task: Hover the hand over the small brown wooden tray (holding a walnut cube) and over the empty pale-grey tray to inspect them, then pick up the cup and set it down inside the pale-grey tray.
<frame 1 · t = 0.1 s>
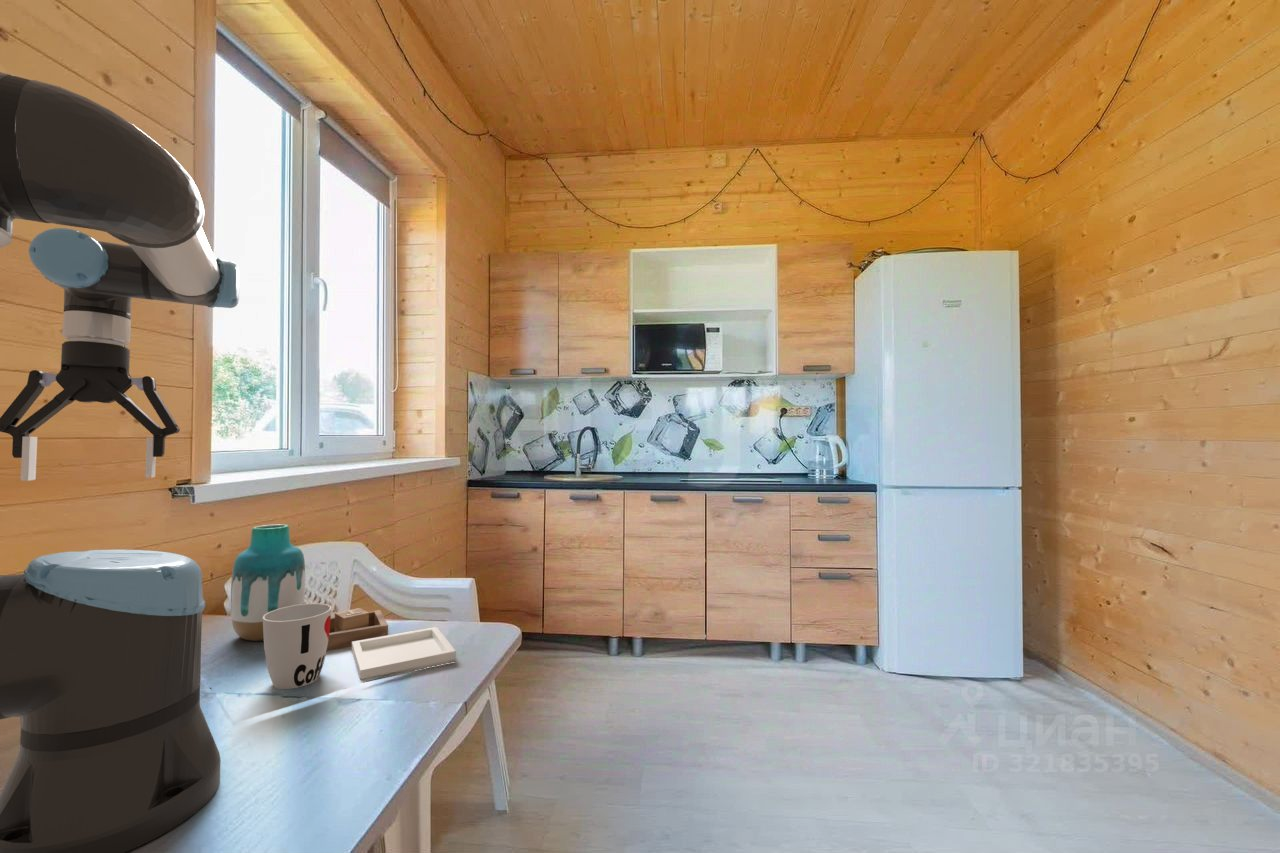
hand: (91, 479, 83), 28 cm above the table, fingers open, 13 cm apart
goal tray: (402, 657, 84), on the table
letter cube: (351, 636, 91), point 1 cm above the table, touching brown wooden tray
cup: (296, 685, 74), on the table
brown wooden tray: (351, 640, 91), on the table
vase: (267, 639, 92), on the table
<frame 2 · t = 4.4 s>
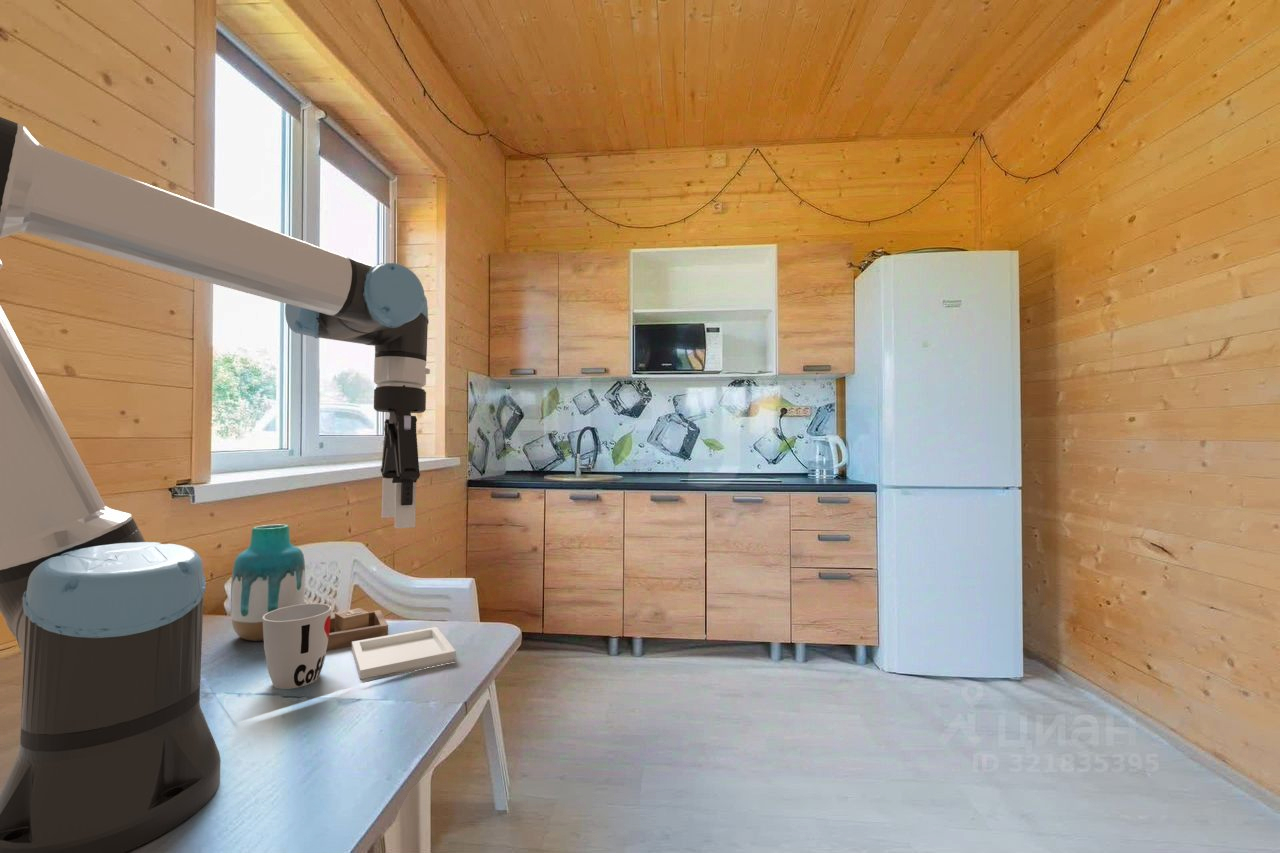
hand: (397, 522, 84), 21 cm above the table, fingers open, 13 cm apart
nothing on the table moved.
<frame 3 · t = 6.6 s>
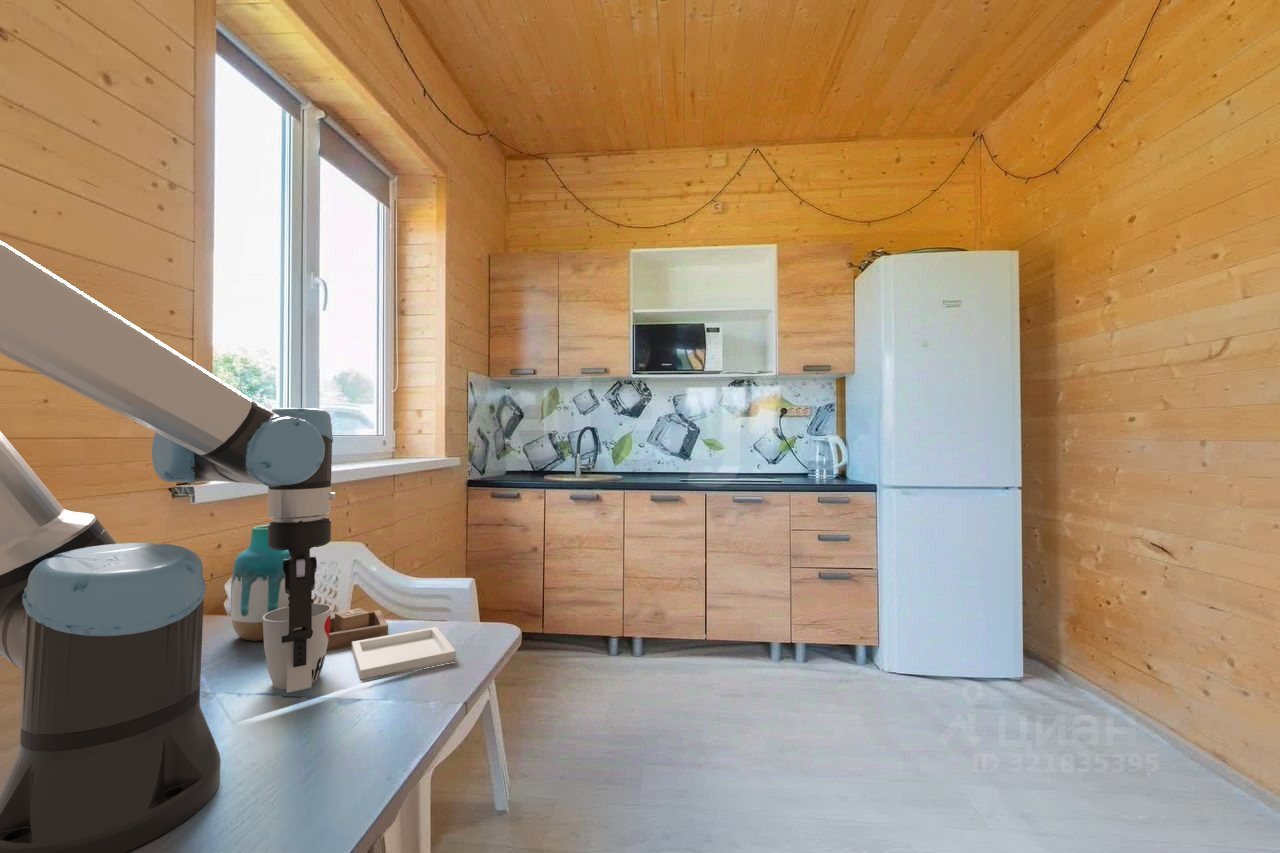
hand: (298, 670, 75), 2 cm above the table, fingers open, 13 cm apart
nothing on the table moved.
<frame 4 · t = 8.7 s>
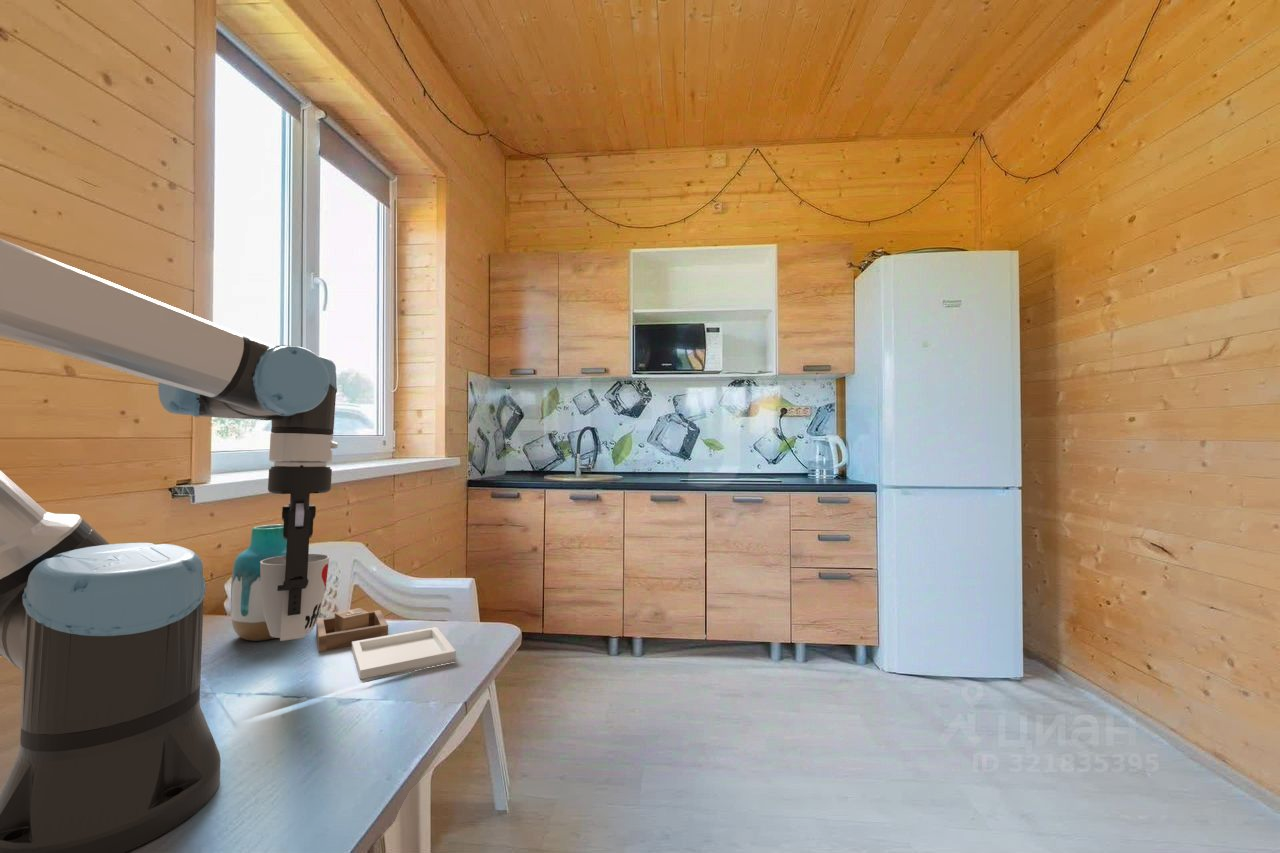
hand: (292, 629, 74), 8 cm above the table, fingers closed on cup, 8 cm apart
cup: (291, 633, 74), point 7 cm above the table, touching gripper
everything else where it was.
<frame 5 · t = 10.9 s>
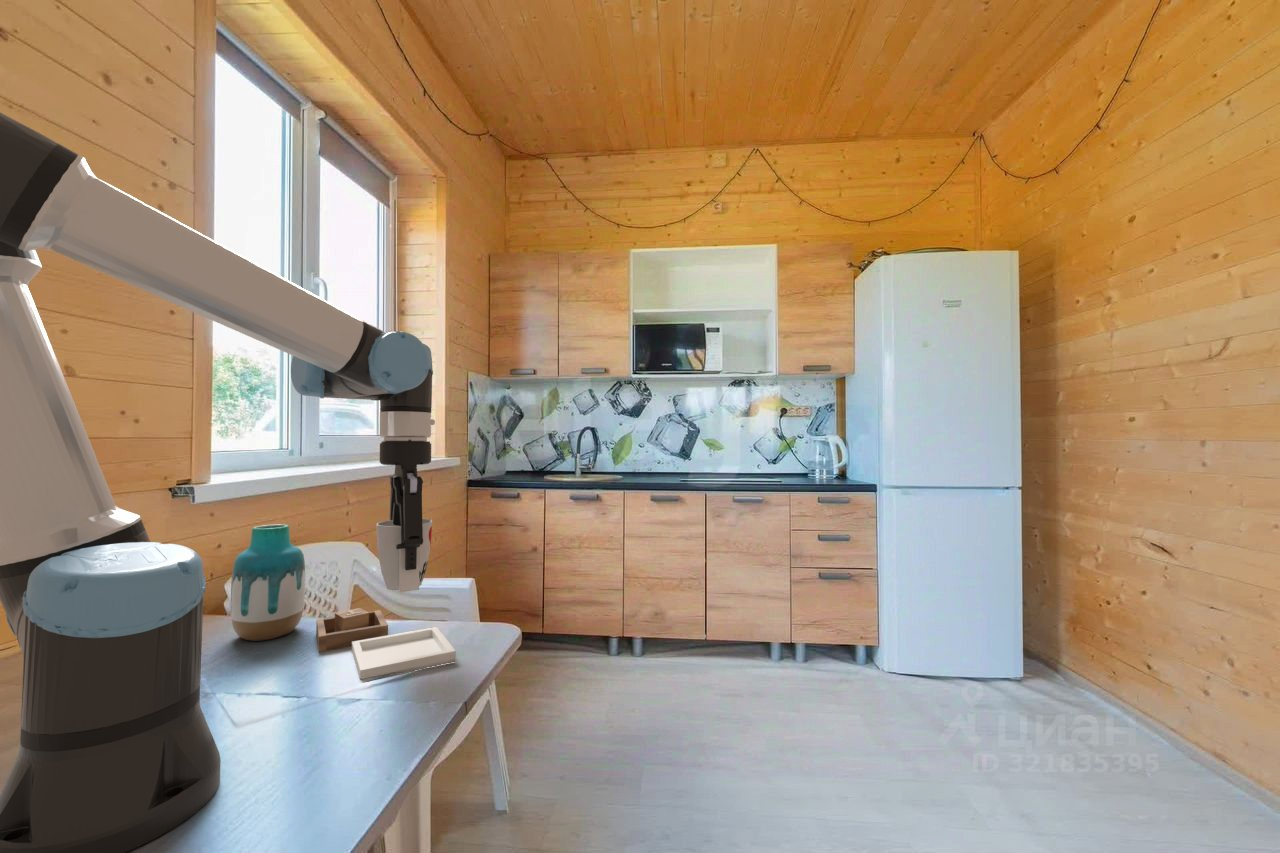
hand: (404, 584, 84), 11 cm above the table, fingers closed on cup, 8 cm apart
cup: (404, 587, 84), point 11 cm above the table, touching gripper
everything else where it was.
when the fingers open (2 cm above the table, at t = 13.3 s): cup drops 1 cm, resting on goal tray.
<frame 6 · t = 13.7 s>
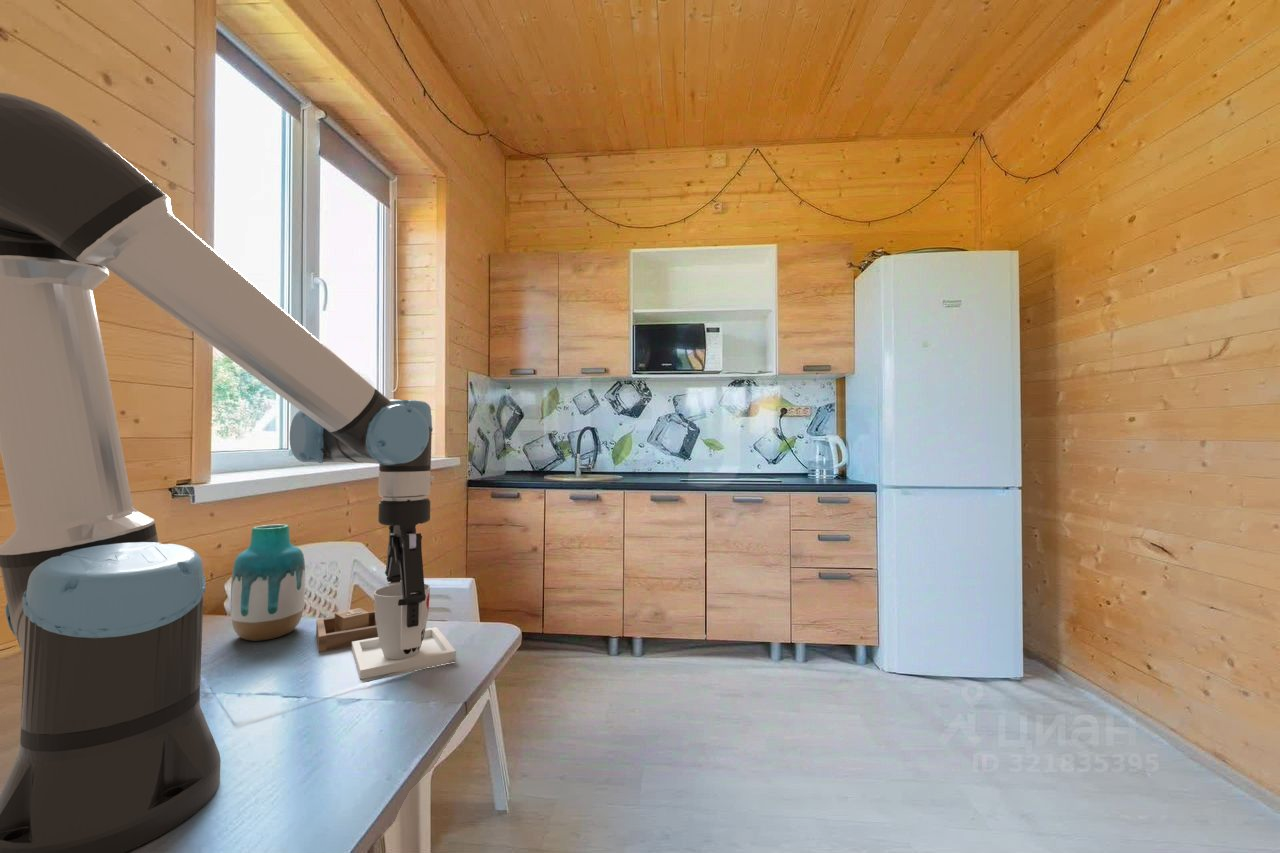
hand: (402, 634, 84), 4 cm above the table, fingers open, 13 cm apart
cup: (401, 654, 84), resting on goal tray
everything else where it was.
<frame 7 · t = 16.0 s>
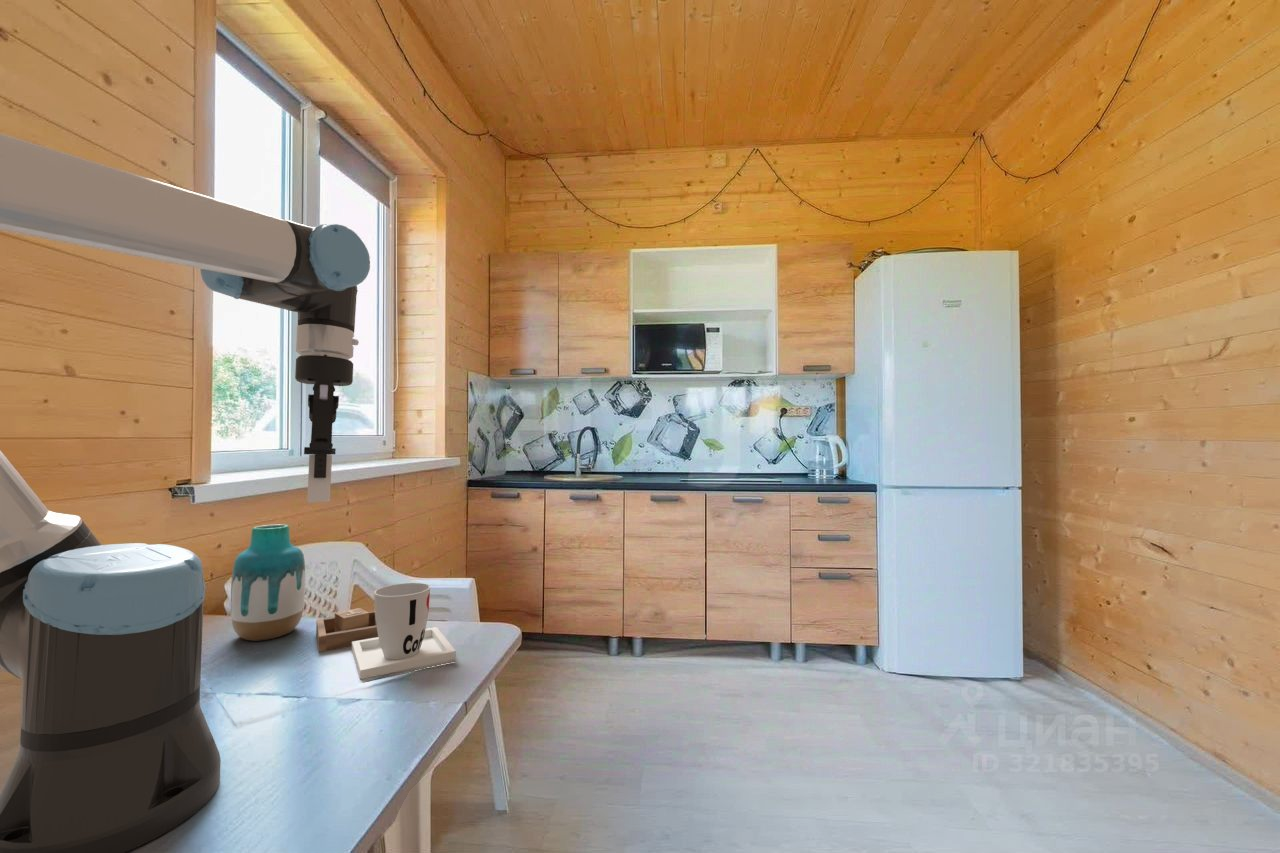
hand: (319, 498, 80), 25 cm above the table, fingers open, 13 cm apart
nothing on the table moved.
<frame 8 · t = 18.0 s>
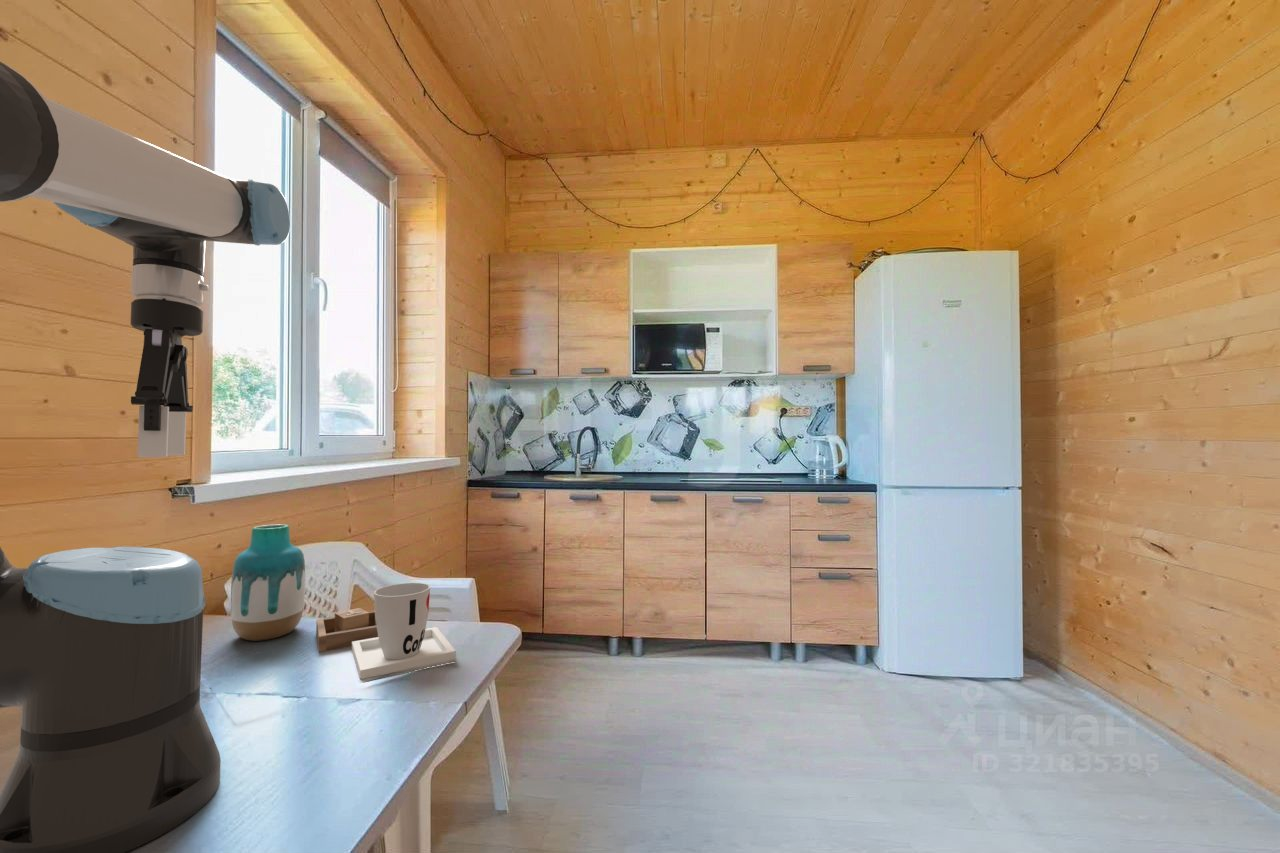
hand: (163, 456, 74), 32 cm above the table, fingers open, 13 cm apart
nothing on the table moved.
at the end: cup inside the target area on the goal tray (0.3 cm from its centre), point 0.4 cm above the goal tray's base; cup tilted 0°; cup touching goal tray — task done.
